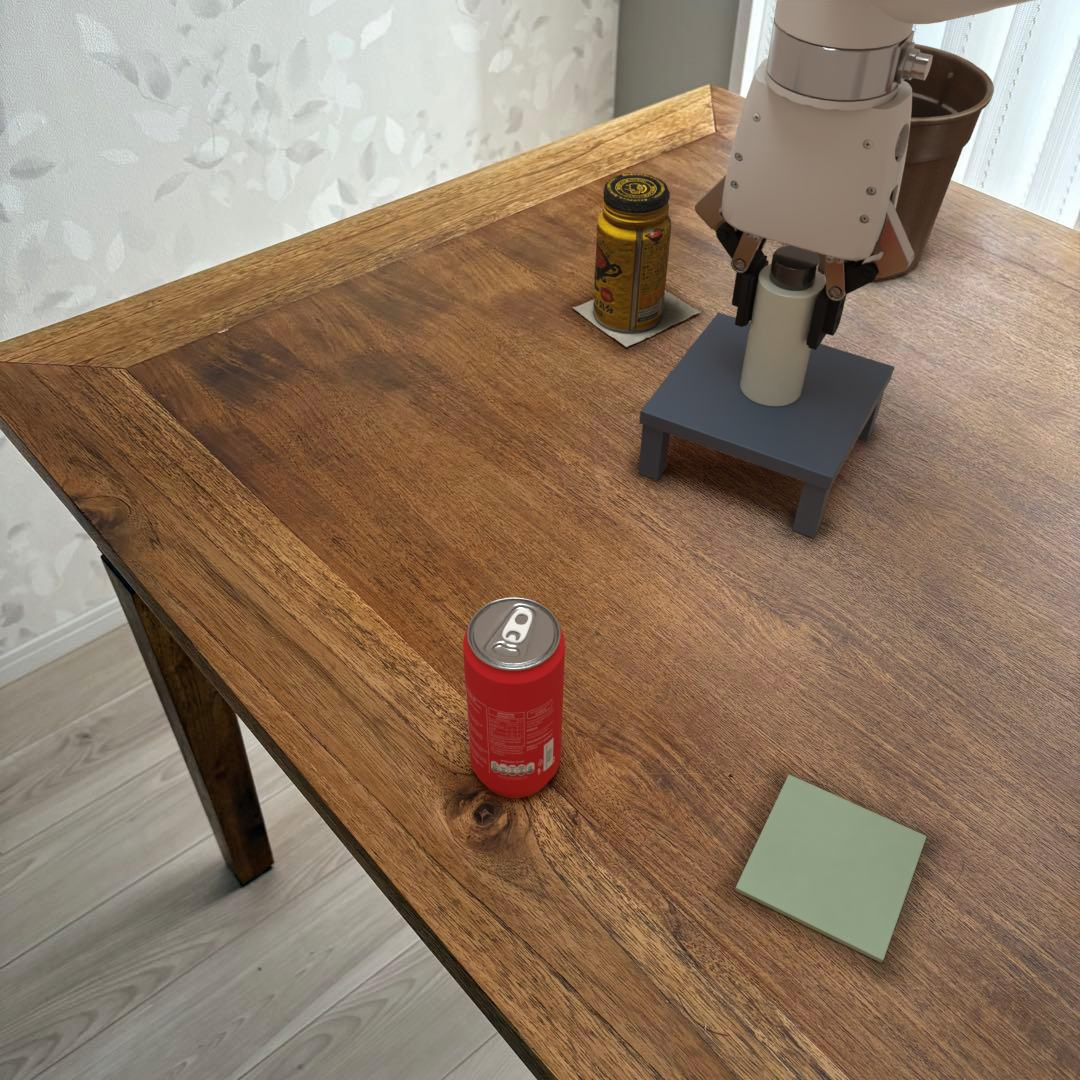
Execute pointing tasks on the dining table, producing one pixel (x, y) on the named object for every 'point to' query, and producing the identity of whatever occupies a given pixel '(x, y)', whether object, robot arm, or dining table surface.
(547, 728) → the beverage can
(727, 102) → the dining table surface
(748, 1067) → the dining table surface
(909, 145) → the plant pot
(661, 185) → the condiment
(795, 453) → the grey miniature table
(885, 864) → the coaster
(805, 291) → the spice bottle
